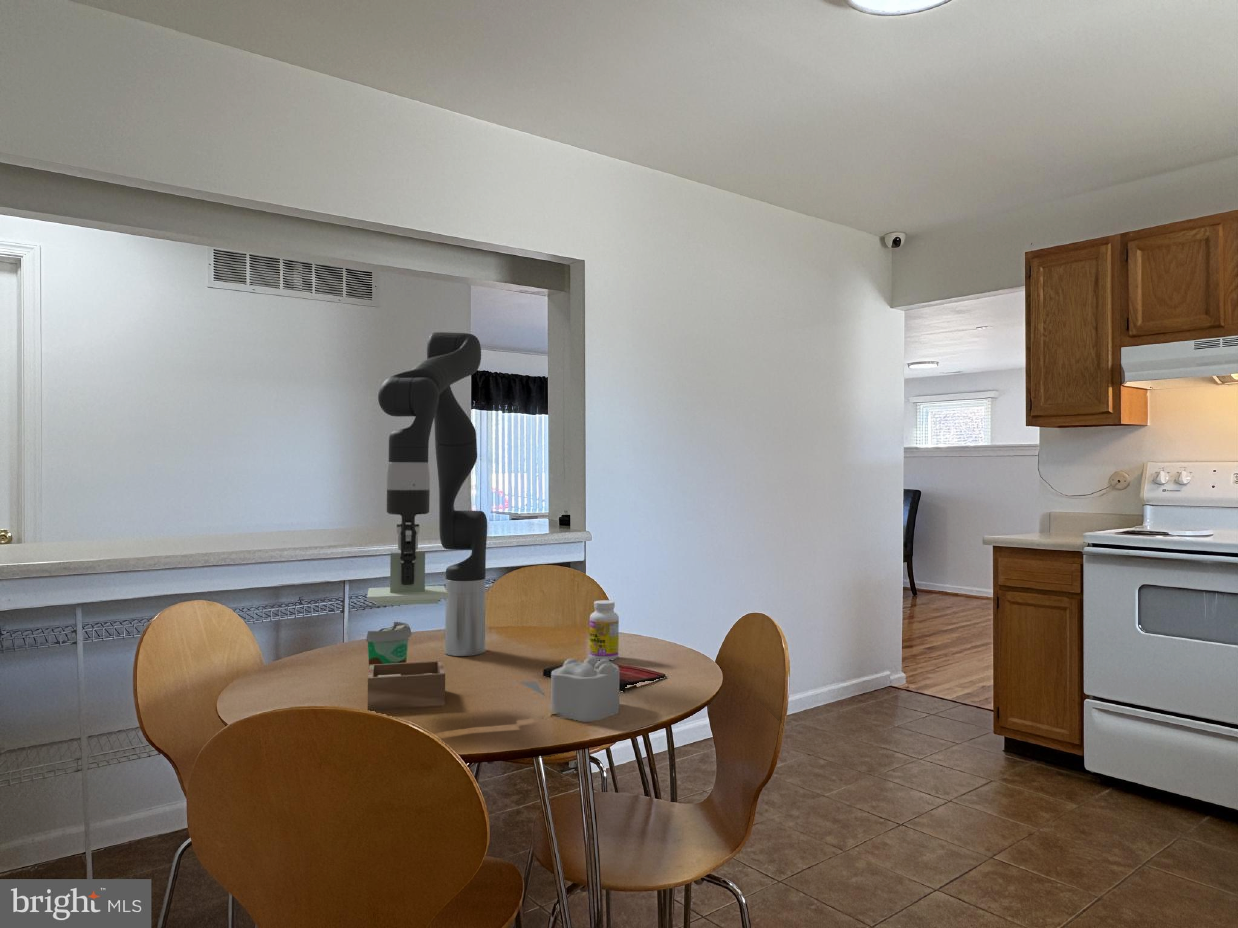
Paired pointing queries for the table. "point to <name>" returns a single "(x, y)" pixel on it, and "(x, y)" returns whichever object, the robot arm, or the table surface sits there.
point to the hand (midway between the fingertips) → (407, 582)
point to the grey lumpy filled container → (585, 689)
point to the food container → (389, 644)
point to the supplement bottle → (604, 631)
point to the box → (406, 685)
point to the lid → (407, 593)
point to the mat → (533, 686)
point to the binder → (624, 675)
